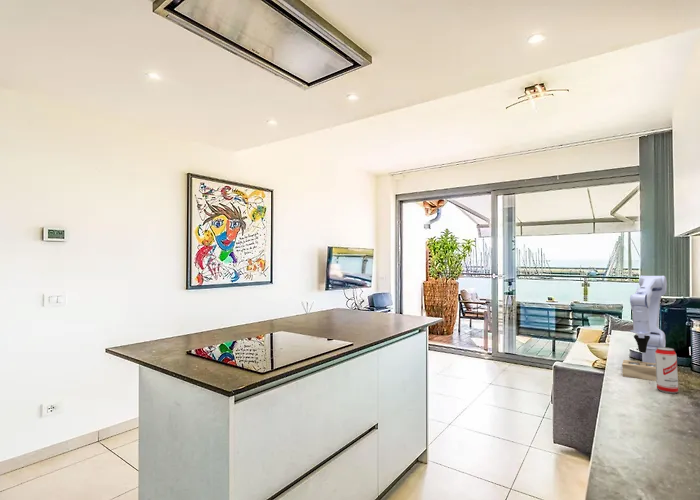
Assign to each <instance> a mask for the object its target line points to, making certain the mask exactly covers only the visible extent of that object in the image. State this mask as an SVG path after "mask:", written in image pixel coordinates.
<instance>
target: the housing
mask: <svg viewBox="0 0 700 500" xmlns="http://www.w3.org/2000/svg"><path fill="white" fill-rule="evenodd" d="M630 363H638V364H639V365H635V364H630ZM647 365H656V363H649V362H642V361H639V360H629V359H623V361H622V364H621V367H622V369H621V370H622V377H624V378H632V379H639V380H646V381H647V380H648V381H652V382H653V381H655V382H657V380H656V367H652V366H647Z"/></svg>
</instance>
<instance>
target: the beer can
mask: <svg viewBox="0 0 700 500" xmlns="http://www.w3.org/2000/svg"><path fill="white" fill-rule="evenodd" d="M677 358H678V357H677V353H676V350H675V348H672V347H666V346H665V347H657V350H656V351H655V361H656V380H657V381H656V388H657V389H658V391H659V392H662V393H666V394H676V393H678V392H679V377H678V376H679V374H678V359H677Z"/></svg>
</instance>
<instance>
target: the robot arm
mask: <svg viewBox="0 0 700 500" xmlns="http://www.w3.org/2000/svg"><path fill="white" fill-rule="evenodd" d="M667 283H668V282H667V277H666V276H665V275H640V276H639V279H638V285H639V287H637V289H636V291H635V293H633V294H630V297H629V303H630V309H631V312H632V327H633V328H632V330H631V329H630V331H629V332H630V333H634V334H633V339H635V342H636V345H637V348H638V351H639V353H641V356H642V357H641V358H642V360H641V362H649V363H656V361H655V351H656V350H657V347H665V348H666V343H667V342H666V340H667V339H666V334H665V332H664V331H663V330H662V329H660V328H659V322H660V321H659V320H660V306H661V299H662V296H663V297H664V296H665V295H666V294H667V289H668V288H667V287H668V284H667Z"/></svg>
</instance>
